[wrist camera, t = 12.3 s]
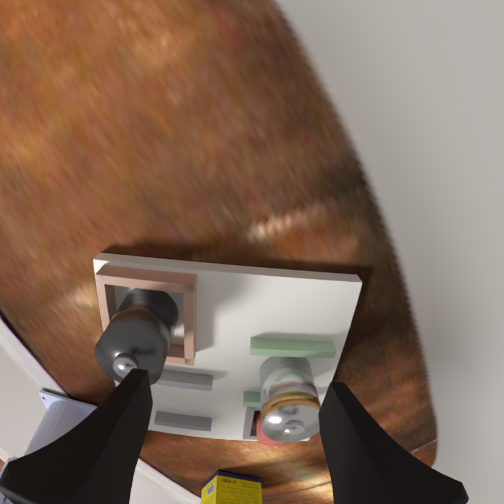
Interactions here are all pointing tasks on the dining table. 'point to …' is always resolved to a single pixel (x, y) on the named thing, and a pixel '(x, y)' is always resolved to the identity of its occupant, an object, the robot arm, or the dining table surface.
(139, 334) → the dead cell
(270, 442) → the button
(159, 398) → the tester board
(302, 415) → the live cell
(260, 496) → the supplement box
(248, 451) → the dining table surface
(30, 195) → the dining table surface
